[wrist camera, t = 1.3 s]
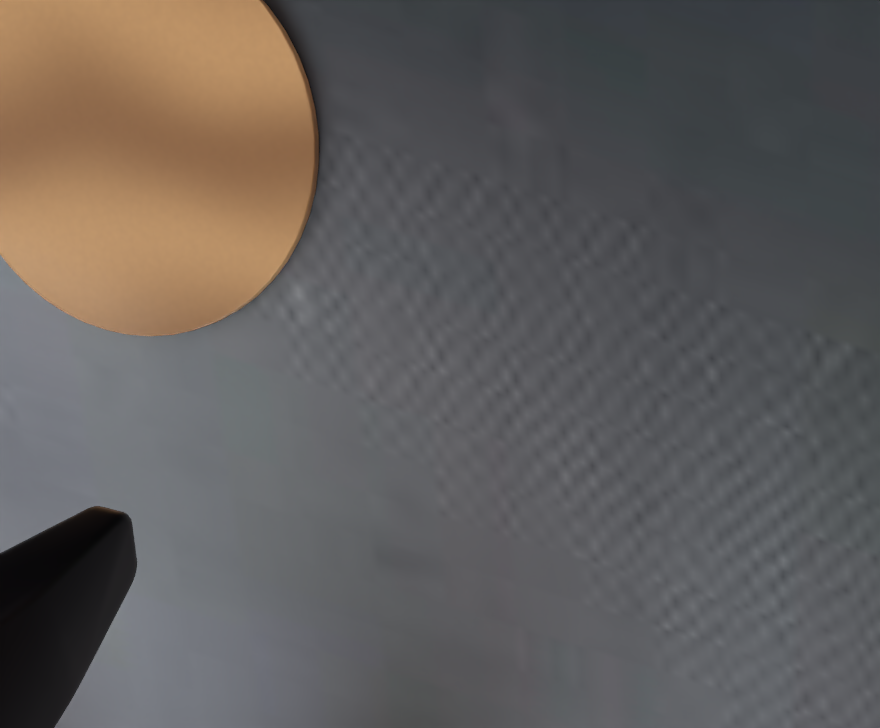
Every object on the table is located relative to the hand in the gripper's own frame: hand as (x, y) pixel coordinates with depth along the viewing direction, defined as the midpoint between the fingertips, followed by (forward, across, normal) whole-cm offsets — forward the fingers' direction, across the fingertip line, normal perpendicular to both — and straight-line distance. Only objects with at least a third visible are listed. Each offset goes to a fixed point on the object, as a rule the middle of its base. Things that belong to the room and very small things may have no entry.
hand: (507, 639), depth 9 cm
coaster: (+15, +13, +1) cm, 20 cm away
